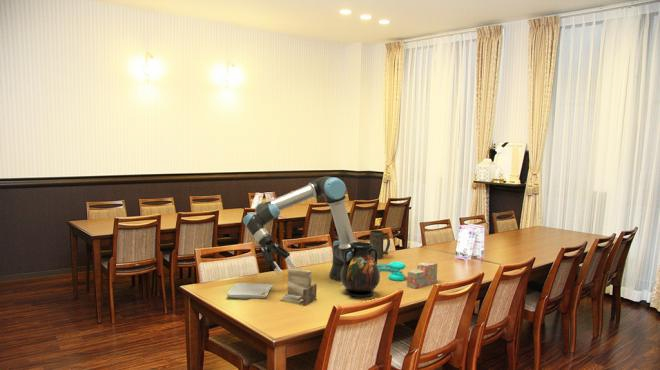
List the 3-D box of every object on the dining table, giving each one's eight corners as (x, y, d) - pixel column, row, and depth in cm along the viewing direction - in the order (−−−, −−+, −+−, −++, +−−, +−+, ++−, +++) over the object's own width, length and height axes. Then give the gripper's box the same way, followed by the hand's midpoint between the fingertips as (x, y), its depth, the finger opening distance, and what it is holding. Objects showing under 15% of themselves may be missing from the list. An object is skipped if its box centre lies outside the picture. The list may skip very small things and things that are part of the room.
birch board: (290, 295, 261) (291, 267, 259) (310, 299, 255) (311, 271, 254) (287, 297, 258) (288, 269, 256) (307, 301, 252) (308, 272, 251)
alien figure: (402, 275, 315) (396, 267, 335) (402, 271, 315) (397, 264, 335) (370, 274, 314) (367, 266, 334) (371, 271, 314) (367, 263, 334)
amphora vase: (346, 301, 257) (348, 248, 255) (334, 289, 278) (336, 240, 275) (385, 299, 263) (387, 247, 261) (370, 287, 284) (372, 239, 281)
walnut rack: (291, 296, 263) (292, 279, 262) (317, 301, 256) (317, 284, 256) (279, 302, 252) (279, 285, 251) (305, 307, 245) (305, 290, 244)
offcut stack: (287, 298, 255) (287, 293, 255) (304, 302, 251) (304, 297, 251) (282, 301, 251) (282, 296, 251) (299, 304, 247) (299, 299, 247)
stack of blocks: (415, 289, 284) (416, 268, 283) (406, 286, 288) (407, 266, 287) (436, 283, 298) (437, 263, 297) (427, 280, 303) (429, 261, 302)
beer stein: (366, 258, 354) (369, 231, 353) (367, 255, 365) (370, 228, 363) (387, 261, 352) (391, 234, 350) (388, 258, 363) (391, 231, 361)
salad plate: (235, 288, 275) (235, 282, 275) (273, 289, 275) (273, 283, 274) (225, 300, 254) (225, 293, 254) (267, 302, 253) (267, 295, 253)
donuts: (403, 265, 297) (387, 263, 300) (402, 282, 297) (386, 280, 301) (407, 262, 306) (391, 260, 309) (406, 278, 307) (390, 276, 310)
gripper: (272, 239, 276) (294, 269, 270) (245, 246, 254) (269, 280, 248) (280, 230, 273) (303, 261, 268) (254, 237, 251) (278, 271, 245)
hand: (287, 270), depth 258 cm, fingers open, 13 cm apart
